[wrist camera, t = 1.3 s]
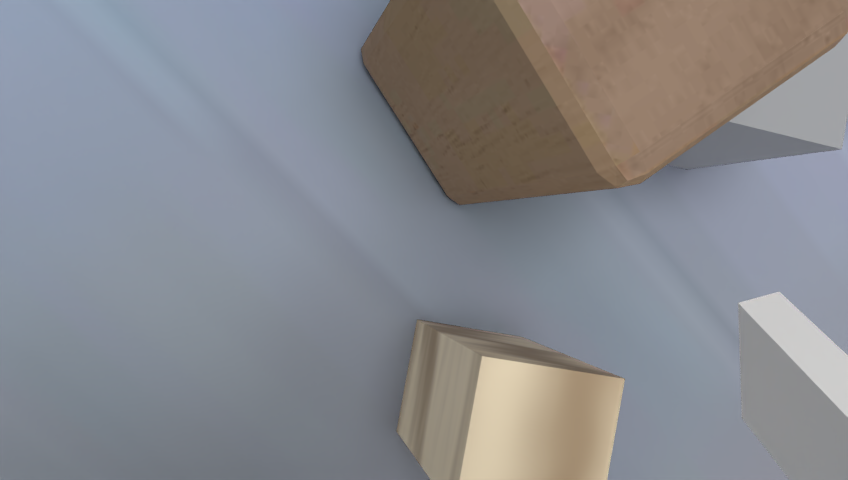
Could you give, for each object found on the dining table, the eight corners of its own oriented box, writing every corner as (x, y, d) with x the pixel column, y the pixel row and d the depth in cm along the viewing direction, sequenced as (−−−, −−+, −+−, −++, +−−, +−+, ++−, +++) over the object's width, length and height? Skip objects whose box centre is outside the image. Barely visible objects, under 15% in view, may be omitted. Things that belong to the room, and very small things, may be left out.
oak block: (396, 431, 41) (453, 512, 29) (417, 319, 41) (482, 355, 30) (502, 445, 42) (598, 528, 31) (522, 337, 43) (624, 379, 31)
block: (598, 114, 43) (882, 22, 24) (453, 212, 42) (630, 200, 22) (504, -44, 42) (723, -279, 22) (350, 51, 40) (442, -115, 21)
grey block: (591, 147, 43) (716, 118, 32) (610, 42, 43) (742, -26, 32) (686, 169, 45) (841, 149, 33) (704, 67, 45) (865, 10, 33)
